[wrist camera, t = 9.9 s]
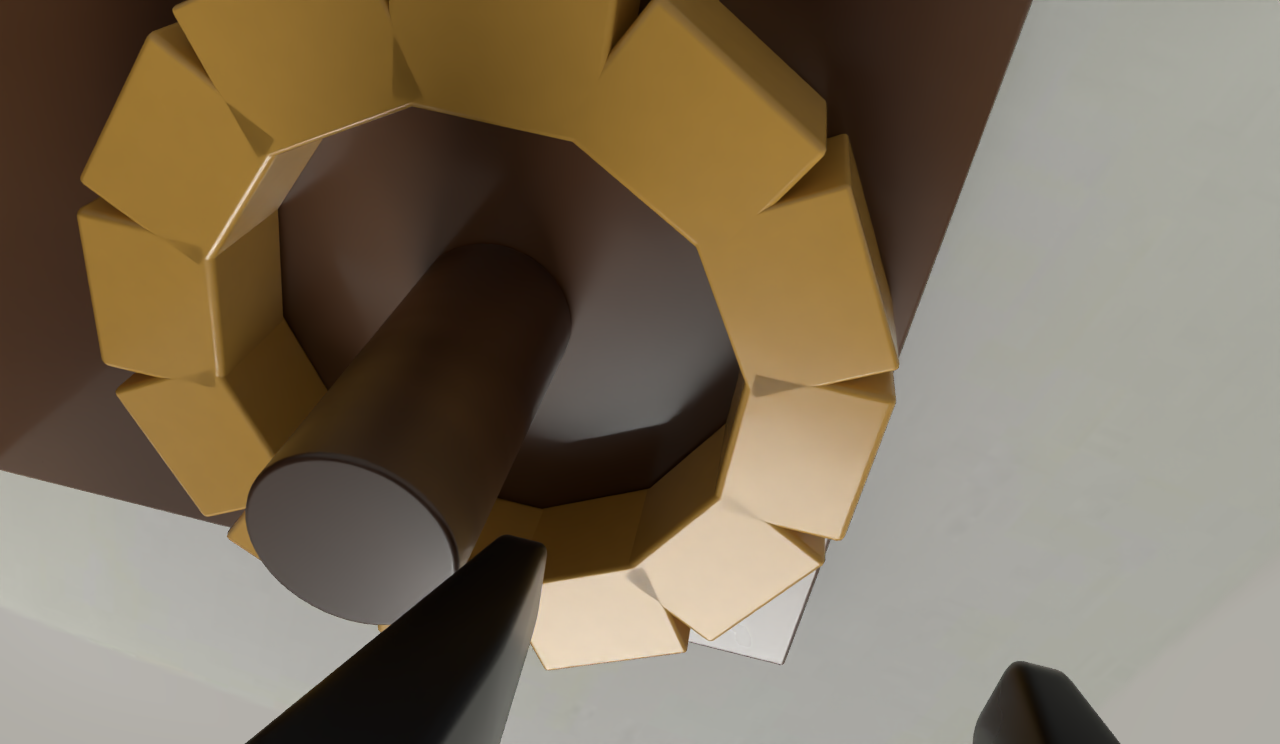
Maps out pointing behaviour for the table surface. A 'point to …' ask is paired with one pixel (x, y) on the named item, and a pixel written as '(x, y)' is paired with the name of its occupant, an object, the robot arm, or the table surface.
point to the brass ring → (619, 142)
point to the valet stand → (460, 296)
